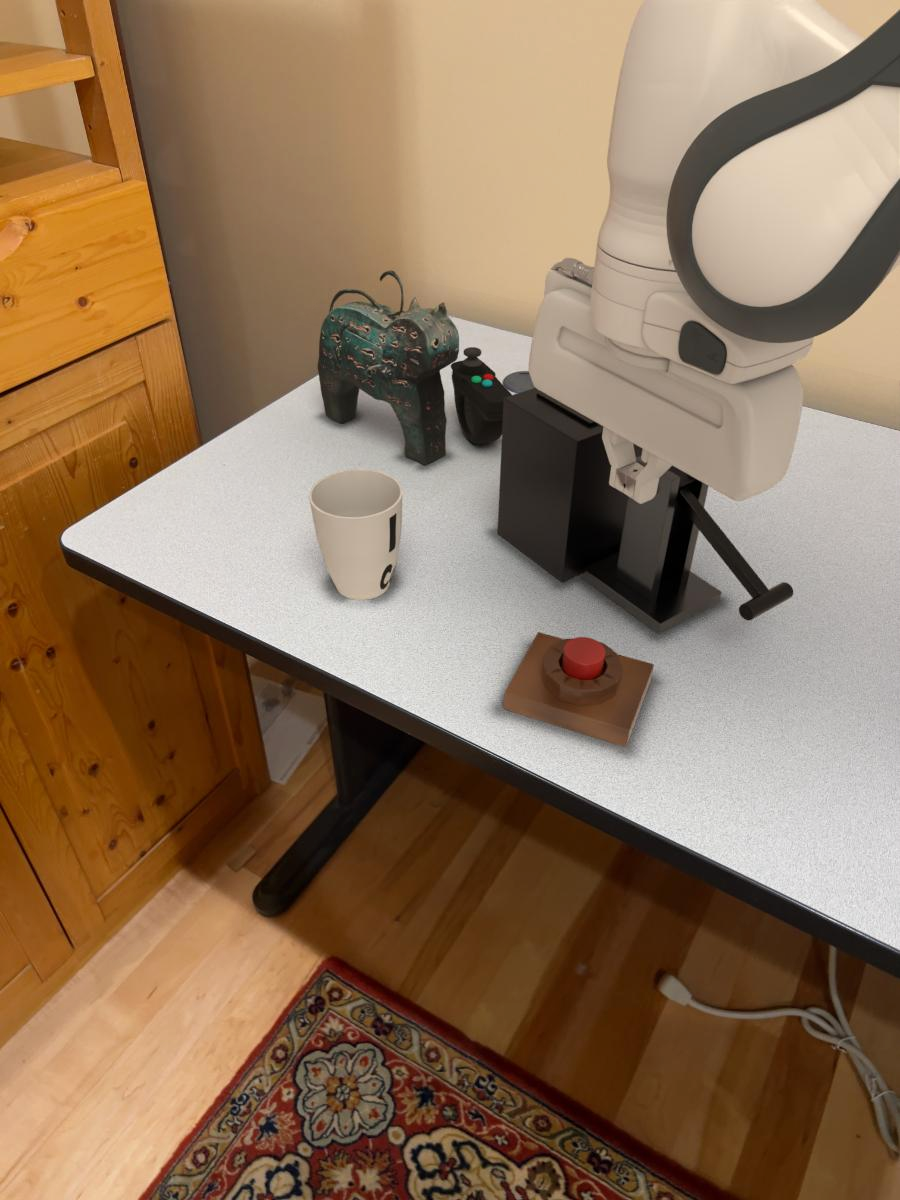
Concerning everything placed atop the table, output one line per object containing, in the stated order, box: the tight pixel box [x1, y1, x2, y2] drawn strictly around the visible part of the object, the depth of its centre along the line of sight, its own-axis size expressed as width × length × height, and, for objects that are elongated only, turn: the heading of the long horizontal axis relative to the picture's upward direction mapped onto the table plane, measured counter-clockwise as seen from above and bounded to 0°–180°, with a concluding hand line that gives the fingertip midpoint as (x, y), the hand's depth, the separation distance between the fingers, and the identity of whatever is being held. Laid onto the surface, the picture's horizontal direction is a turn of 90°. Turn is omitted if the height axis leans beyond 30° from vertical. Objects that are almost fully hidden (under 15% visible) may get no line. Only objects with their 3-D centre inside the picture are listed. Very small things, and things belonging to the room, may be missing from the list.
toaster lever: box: [668, 465, 794, 622], centre depth 73 cm, size 15×5×2 cm, turn 35°
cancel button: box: [562, 636, 605, 680], centre depth 69 cm, size 3×3×2 cm
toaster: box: [496, 387, 643, 584], centre depth 84 cm, size 10×12×15 cm
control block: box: [503, 631, 655, 748], centre depth 71 cm, size 10×8×4 cm
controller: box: [450, 346, 513, 445], centre depth 101 cm, size 4×12×10 cm, turn 21°
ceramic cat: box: [317, 269, 460, 466], centre depth 99 cm, size 20×6×20 cm, turn 47°
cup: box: [308, 468, 403, 601], centre depth 80 cm, size 8×8×10 cm
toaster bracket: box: [581, 455, 722, 635], centre depth 78 cm, size 10×8×14 cm
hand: (631, 492), depth 62 cm, fingers closed
